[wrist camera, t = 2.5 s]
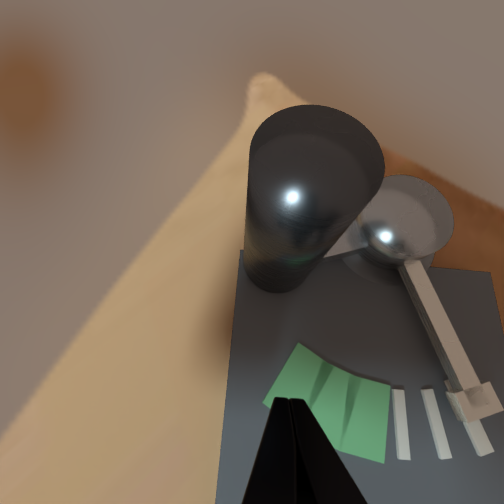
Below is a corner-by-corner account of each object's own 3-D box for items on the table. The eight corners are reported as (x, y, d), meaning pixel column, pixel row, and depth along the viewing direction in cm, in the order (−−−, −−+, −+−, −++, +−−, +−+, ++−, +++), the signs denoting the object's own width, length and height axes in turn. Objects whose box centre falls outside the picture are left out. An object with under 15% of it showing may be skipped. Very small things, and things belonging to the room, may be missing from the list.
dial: (403, 192, 18) (540, 52, 10) (510, 398, 14) (877, 448, 6) (233, 231, 16) (230, 105, 8) (301, 473, 12) (416, 673, 4)
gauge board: (527, 535, 13) (554, 552, 12) (215, 512, 13) (212, 526, 12) (462, 207, 19) (476, 197, 18) (246, 186, 19) (247, 175, 18)
